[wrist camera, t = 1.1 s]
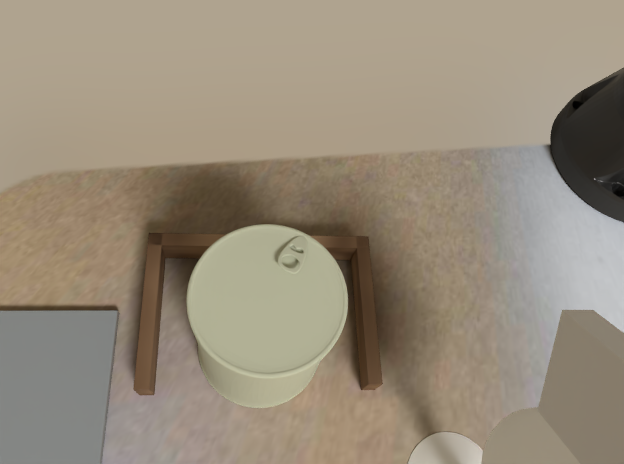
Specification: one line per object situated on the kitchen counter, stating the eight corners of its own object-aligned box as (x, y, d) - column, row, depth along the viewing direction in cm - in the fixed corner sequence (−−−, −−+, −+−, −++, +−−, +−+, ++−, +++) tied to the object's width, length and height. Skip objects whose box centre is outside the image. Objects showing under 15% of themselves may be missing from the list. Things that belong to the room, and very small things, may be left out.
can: (340, 321, 42) (376, 263, 31) (285, 432, 38) (305, 410, 27) (237, 267, 43) (238, 193, 32) (173, 370, 39) (150, 325, 28)
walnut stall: (361, 249, 45) (368, 236, 42) (374, 389, 40) (382, 384, 38) (153, 246, 42) (149, 232, 40) (139, 395, 38) (133, 389, 35)
